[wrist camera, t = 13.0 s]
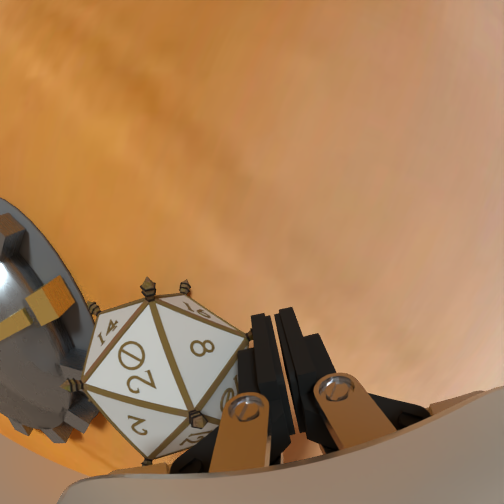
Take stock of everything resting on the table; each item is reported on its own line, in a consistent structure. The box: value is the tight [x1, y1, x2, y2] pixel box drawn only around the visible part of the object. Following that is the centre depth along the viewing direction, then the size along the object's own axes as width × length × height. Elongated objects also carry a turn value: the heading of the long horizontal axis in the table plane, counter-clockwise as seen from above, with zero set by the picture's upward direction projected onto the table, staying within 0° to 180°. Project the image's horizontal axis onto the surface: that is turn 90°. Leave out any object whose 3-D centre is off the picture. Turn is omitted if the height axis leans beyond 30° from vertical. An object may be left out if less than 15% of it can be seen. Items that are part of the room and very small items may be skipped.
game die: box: [60, 277, 253, 466], centre depth 12 cm, size 9×8×10 cm
